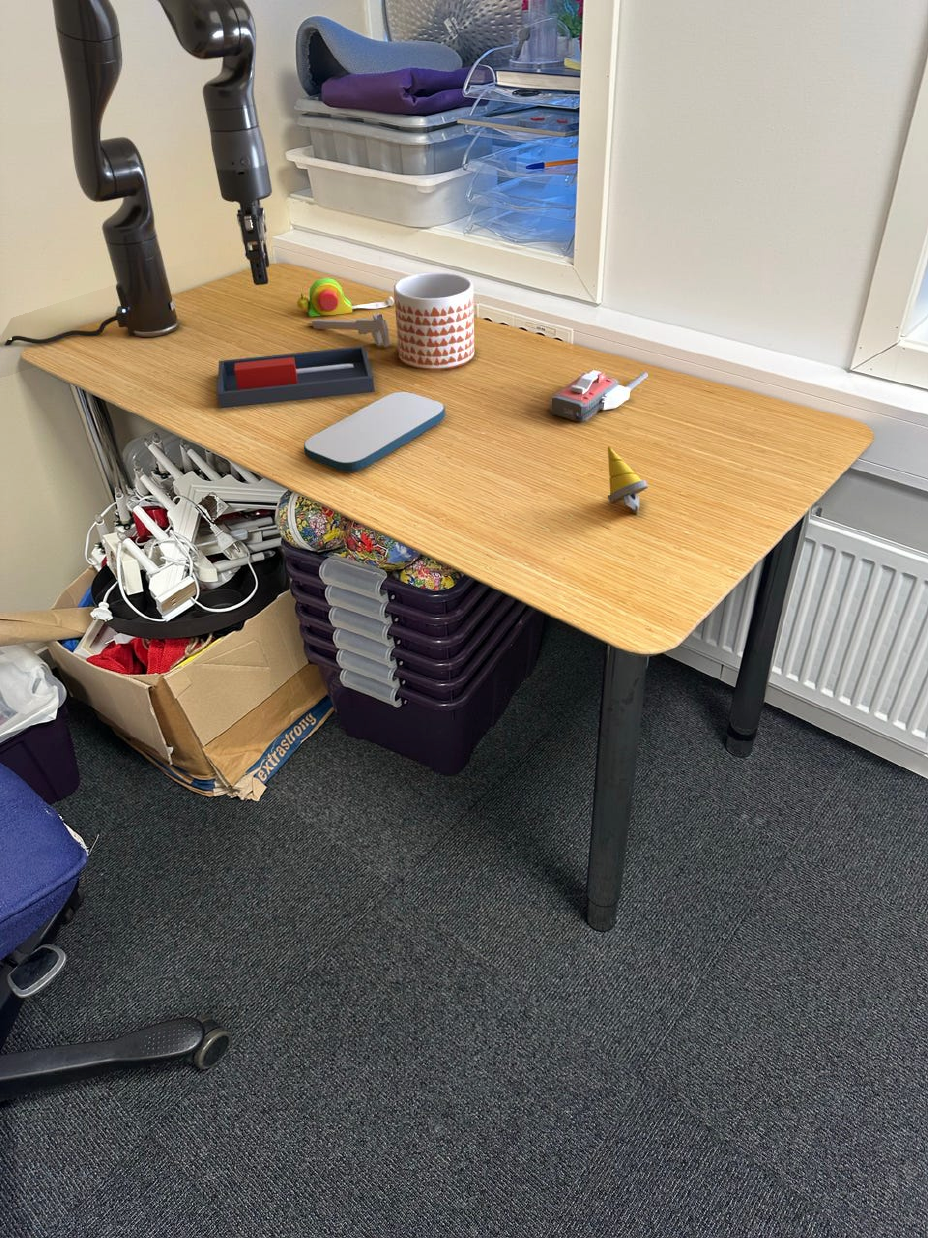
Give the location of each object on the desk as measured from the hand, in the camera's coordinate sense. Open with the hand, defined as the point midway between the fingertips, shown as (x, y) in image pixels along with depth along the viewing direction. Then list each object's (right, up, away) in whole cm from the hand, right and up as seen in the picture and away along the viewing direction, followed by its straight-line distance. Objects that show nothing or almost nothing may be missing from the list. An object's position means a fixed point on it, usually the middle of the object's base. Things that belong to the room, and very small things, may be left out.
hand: (262, 275), depth 137 cm
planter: (+27, -7, +21) cm, 35 cm away
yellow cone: (+53, -39, -19) cm, 68 cm away
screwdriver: (+3, -14, +12) cm, 19 cm away
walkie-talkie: (+54, -18, +5) cm, 57 cm away
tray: (+3, -14, +13) cm, 19 cm away
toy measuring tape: (+8, +8, +39) cm, 41 cm away
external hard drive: (+19, -26, -2) cm, 32 cm away
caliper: (+10, -1, +29) cm, 30 cm away
